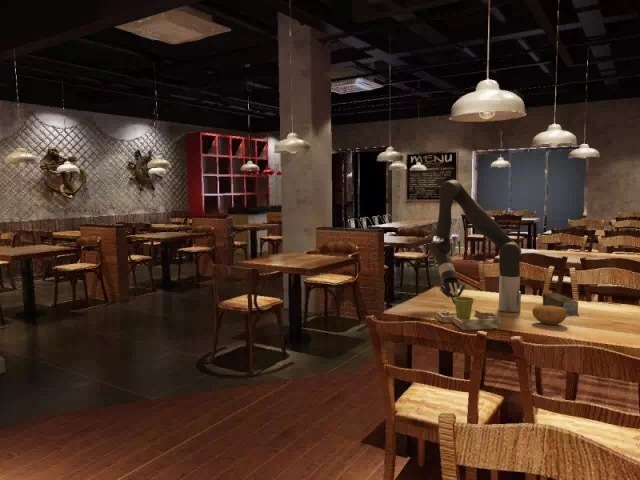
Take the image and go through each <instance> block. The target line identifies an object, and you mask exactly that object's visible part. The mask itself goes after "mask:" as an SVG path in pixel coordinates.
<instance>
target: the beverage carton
mask: <svg viewBox="0 0 640 480" xmlns="http://www.w3.org/2000/svg"><path fill="white" fill-rule="evenodd" d="M542 306H556V307H562V308H564V309H565V310H566V312H567V315H570V314H573V315H574V314H578V313H579V301H577V300H575V299H573V298H570V297H568V296H566V295H564V294H562V293H558V292H548V293H547V292H546V293H542Z"/></svg>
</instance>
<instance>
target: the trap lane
mask: <svg viewBox="0 0 640 480" xmlns="http://www.w3.org/2000/svg"><path fill="white" fill-rule="evenodd" d="M435 314H436V319H438V320H439V321H440V320H441V321H440V322H442V323H453V324H455V325H456V326H457V327H459V328H460V329H461V330H463V331H469V330H491V329H492V330H493V328H496V329H501V316H500V315H498V314H497V313H495V312H493V311H481V310H480V309H474V315H475V317H476V316H477V317H478V319H477V318H476V319H463V320H461V318H459V317H457V316H455V315H450V312H449V311H448V310H444V311H436V313H435Z"/></svg>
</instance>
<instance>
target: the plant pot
mask: <svg viewBox="0 0 640 480" xmlns="http://www.w3.org/2000/svg"><path fill="white" fill-rule="evenodd" d="M453 299H454V302H455V304H454V305H455V312H456V317H457V318H459V319H468V318H471V315H472V314H471V313H472V310H473V309H472V308H473V305H474V301H475V298H473V297H469V296H460V297H454V298H453Z"/></svg>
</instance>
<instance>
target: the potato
mask: <svg viewBox="0 0 640 480" xmlns="http://www.w3.org/2000/svg"><path fill="white" fill-rule="evenodd" d="M531 311H532V316H533V317H534V319H536V320H537V321H539V322H540V323H541V324H545V325H558V324H561V323H563V322H564V321H565V320H566V318H567V316H568V314H567V312H566V310H565V309H564V308H562V307H556V306H545V305H536V306H534V307H533V308H532V310H531Z"/></svg>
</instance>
